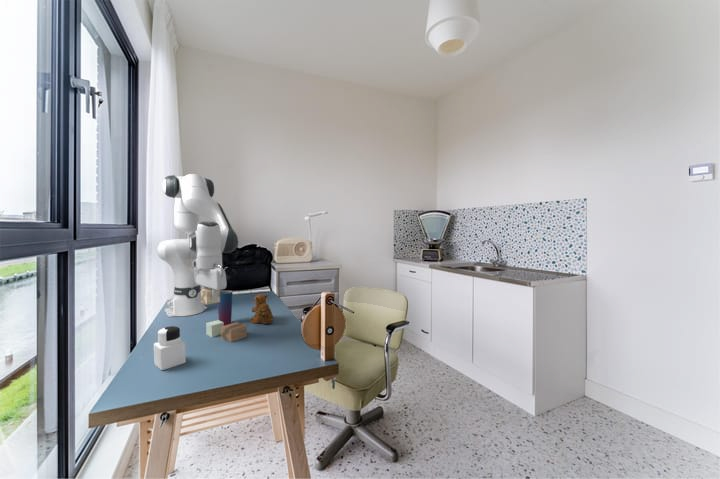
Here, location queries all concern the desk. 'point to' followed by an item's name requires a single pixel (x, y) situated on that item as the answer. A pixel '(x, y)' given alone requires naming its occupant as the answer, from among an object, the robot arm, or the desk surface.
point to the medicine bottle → (169, 348)
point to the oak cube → (208, 296)
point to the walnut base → (233, 332)
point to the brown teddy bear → (261, 311)
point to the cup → (225, 307)
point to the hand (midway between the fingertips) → (210, 298)
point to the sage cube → (214, 328)
